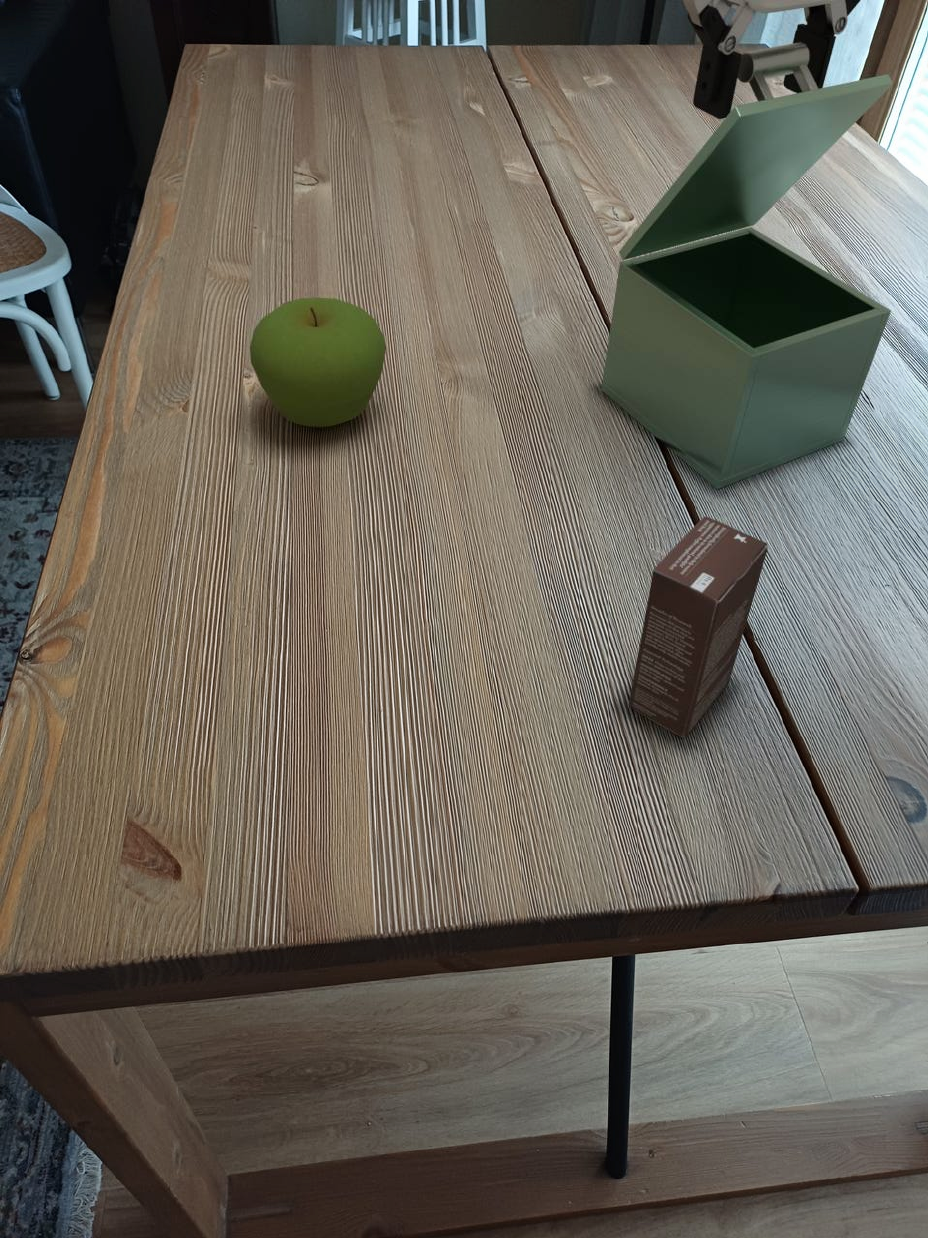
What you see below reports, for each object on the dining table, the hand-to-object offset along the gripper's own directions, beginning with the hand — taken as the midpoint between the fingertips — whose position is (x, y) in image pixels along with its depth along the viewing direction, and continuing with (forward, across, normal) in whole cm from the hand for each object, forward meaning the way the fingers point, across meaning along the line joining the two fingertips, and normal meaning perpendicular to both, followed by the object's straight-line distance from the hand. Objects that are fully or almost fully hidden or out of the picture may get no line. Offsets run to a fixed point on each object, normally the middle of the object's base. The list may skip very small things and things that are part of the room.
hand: (756, 100), depth 68 cm
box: (+24, -23, -26) cm, 42 cm away
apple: (+24, -30, +12) cm, 40 cm away
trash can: (+24, 0, -4) cm, 24 cm away
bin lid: (+5, 0, -1) cm, 5 cm away
